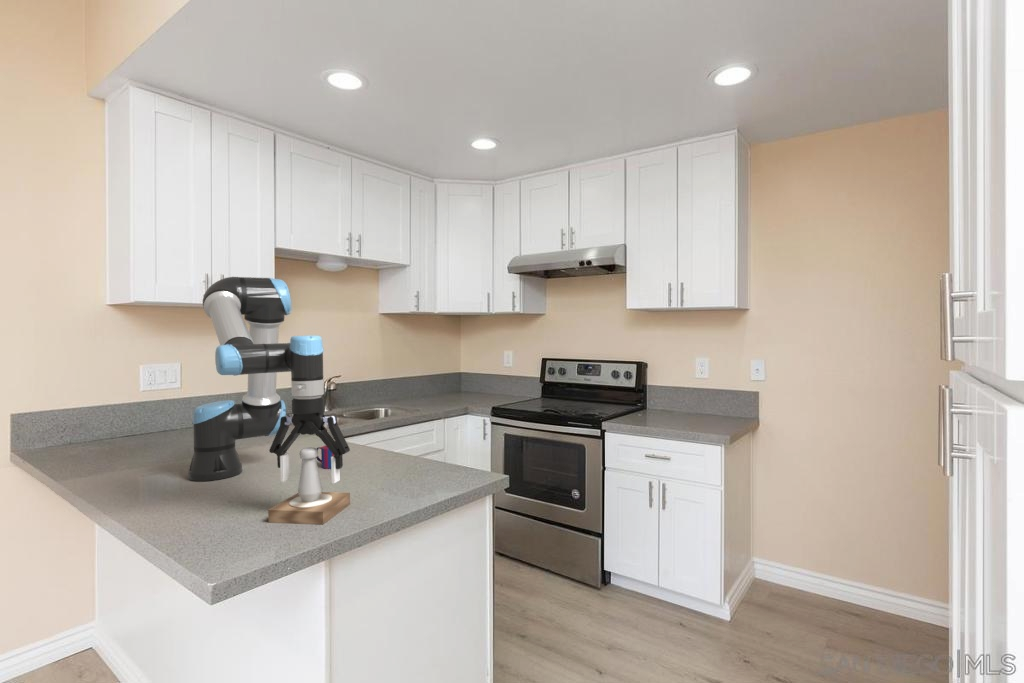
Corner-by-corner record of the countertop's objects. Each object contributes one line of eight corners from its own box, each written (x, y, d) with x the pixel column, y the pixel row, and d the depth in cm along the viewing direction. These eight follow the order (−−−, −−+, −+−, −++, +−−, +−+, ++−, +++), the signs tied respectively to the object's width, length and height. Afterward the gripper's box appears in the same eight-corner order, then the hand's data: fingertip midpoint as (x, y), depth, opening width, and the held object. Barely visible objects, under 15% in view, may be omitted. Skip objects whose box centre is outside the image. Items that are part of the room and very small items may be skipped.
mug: (332, 470, 169) (331, 449, 169) (310, 467, 173) (309, 446, 173) (346, 465, 175) (346, 445, 175) (325, 462, 179) (324, 442, 179)
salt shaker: (327, 498, 129) (325, 447, 129) (306, 505, 125) (303, 452, 124) (315, 494, 133) (313, 444, 132) (293, 500, 128) (291, 449, 128)
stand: (268, 522, 123) (268, 508, 123) (300, 502, 137) (300, 490, 137) (323, 524, 121) (322, 510, 121) (350, 504, 135) (349, 491, 135)
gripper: (252, 398, 126) (255, 484, 127) (348, 399, 123) (350, 486, 123) (271, 395, 134) (273, 475, 134) (361, 395, 130) (363, 477, 131)
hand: (310, 481), depth 129 cm, fingers open, 13 cm apart
